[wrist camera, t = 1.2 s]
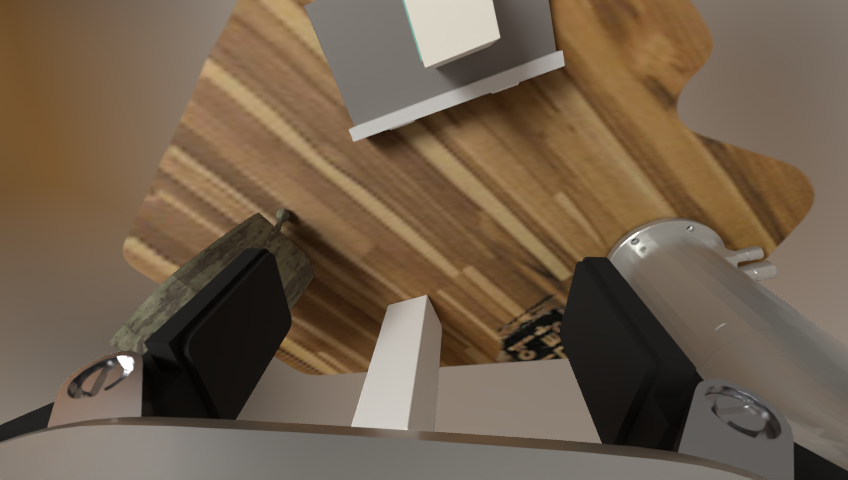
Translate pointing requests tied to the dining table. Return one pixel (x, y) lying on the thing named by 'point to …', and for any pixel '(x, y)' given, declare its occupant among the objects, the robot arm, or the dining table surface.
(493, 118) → the dining table surface
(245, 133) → the dining table surface
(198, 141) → the dining table surface
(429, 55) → the carton
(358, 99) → the shelf board
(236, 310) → the robot arm
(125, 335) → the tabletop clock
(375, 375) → the milk
